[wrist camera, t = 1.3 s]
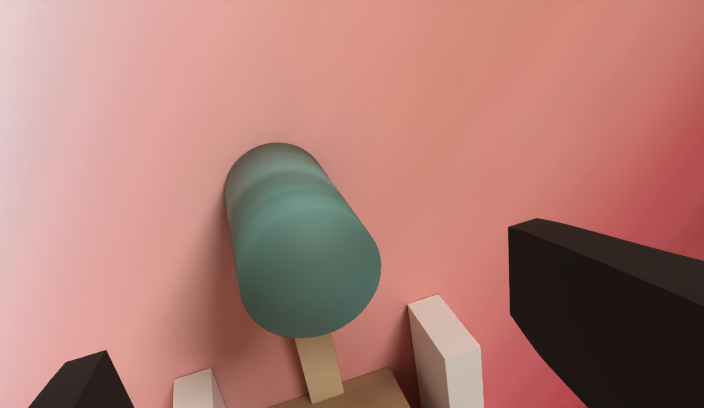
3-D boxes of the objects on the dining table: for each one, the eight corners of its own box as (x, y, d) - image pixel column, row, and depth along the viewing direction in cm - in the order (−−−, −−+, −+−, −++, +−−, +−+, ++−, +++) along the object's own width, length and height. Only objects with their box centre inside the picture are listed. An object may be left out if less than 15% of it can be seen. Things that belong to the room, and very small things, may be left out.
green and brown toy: (403, 455, 21) (475, 613, 16) (287, 500, 20) (322, 684, 15) (348, 123, 15) (437, 201, 9) (174, 165, 14) (166, 279, 8)
